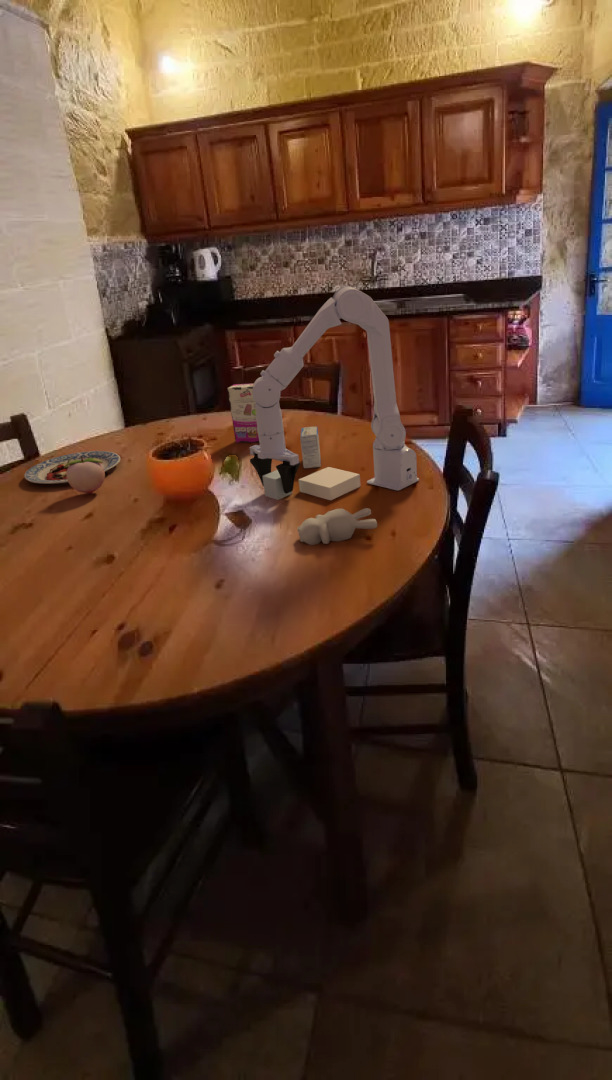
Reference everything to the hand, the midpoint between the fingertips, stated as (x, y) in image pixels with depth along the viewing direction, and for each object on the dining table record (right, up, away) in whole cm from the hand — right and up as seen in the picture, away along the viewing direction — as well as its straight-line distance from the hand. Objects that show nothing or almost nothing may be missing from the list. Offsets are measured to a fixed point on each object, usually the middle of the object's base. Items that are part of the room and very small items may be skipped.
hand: (277, 488), depth 152 cm
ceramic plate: (-58, +7, +31) cm, 66 cm away
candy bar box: (-8, +18, +43) cm, 47 cm away
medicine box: (+8, +8, +19) cm, 22 cm away
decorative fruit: (-48, 0, +13) cm, 49 cm away
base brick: (+12, 0, +1) cm, 12 cm away
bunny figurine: (+13, -11, -23) cm, 29 cm away
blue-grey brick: (0, -1, +1) cm, 2 cm away
